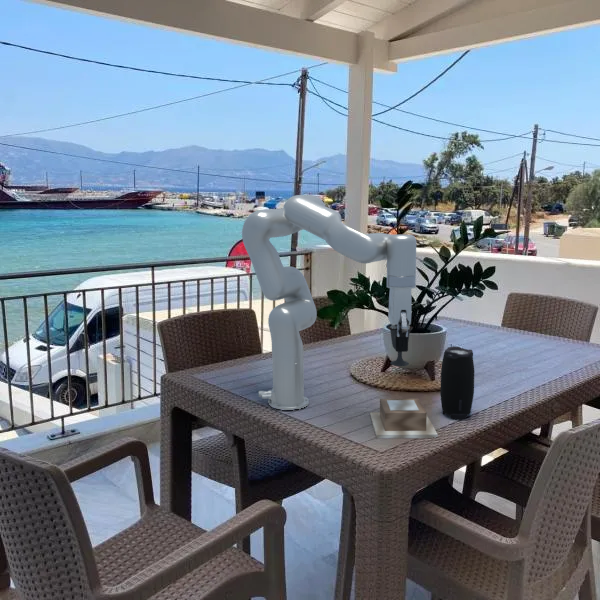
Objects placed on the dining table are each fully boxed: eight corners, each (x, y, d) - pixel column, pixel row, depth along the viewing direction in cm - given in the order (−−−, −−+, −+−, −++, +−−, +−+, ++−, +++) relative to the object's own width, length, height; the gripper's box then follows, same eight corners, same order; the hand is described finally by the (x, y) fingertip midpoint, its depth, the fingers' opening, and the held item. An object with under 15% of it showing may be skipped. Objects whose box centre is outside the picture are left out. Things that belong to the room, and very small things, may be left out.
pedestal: (376, 438, 150) (376, 416, 149) (369, 415, 166) (370, 395, 165) (437, 438, 150) (438, 415, 149) (425, 415, 166) (425, 394, 165)
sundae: (412, 367, 151) (413, 311, 148) (386, 366, 152) (387, 311, 149) (412, 360, 157) (413, 307, 154) (387, 359, 158) (388, 306, 156)
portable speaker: (442, 408, 171) (444, 344, 168) (474, 412, 168) (477, 347, 164) (436, 417, 164) (439, 351, 160) (470, 422, 160) (473, 355, 156)
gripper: (383, 277, 159) (382, 341, 162) (391, 286, 142) (390, 357, 145) (410, 277, 159) (409, 340, 162) (421, 286, 142) (419, 357, 145)
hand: (400, 347), depth 154 cm, fingers closed on sundae, 4 cm apart
